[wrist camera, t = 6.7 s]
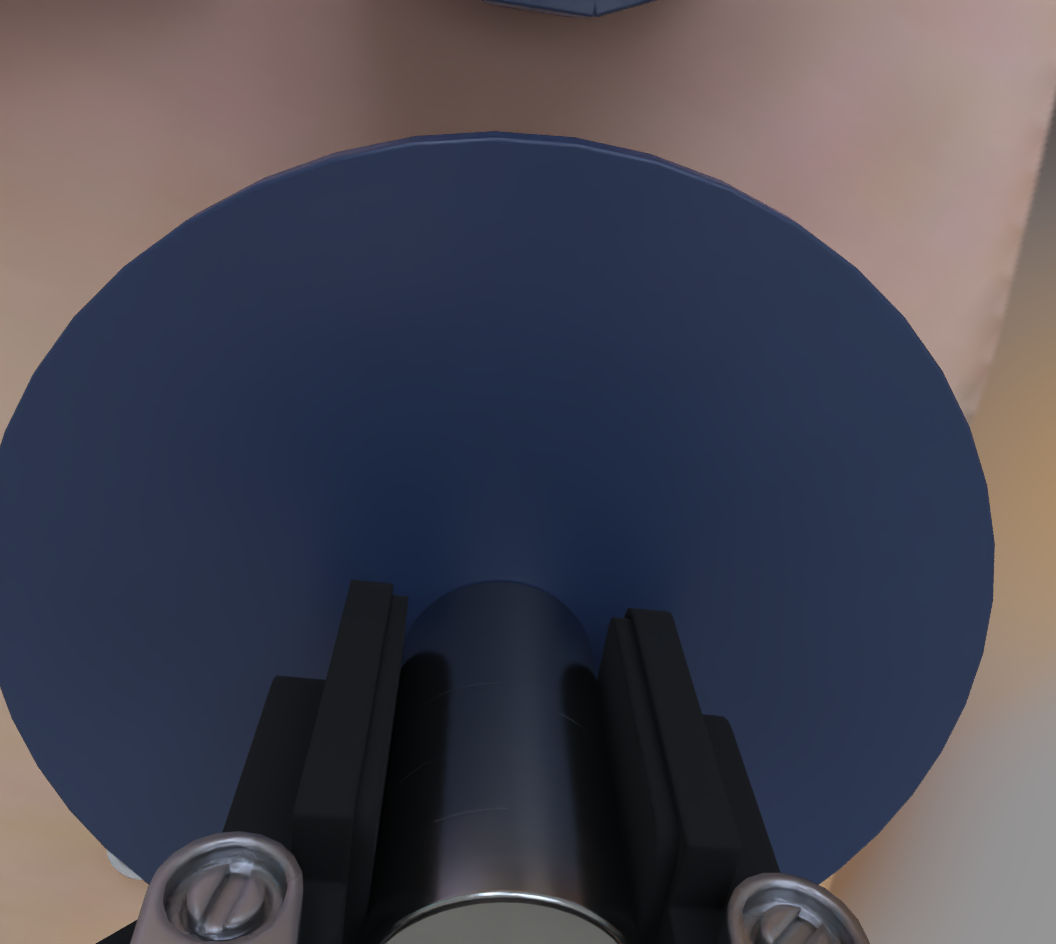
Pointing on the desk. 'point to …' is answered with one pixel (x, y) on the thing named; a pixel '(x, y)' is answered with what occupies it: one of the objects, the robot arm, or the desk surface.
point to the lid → (491, 516)
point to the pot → (570, 6)
